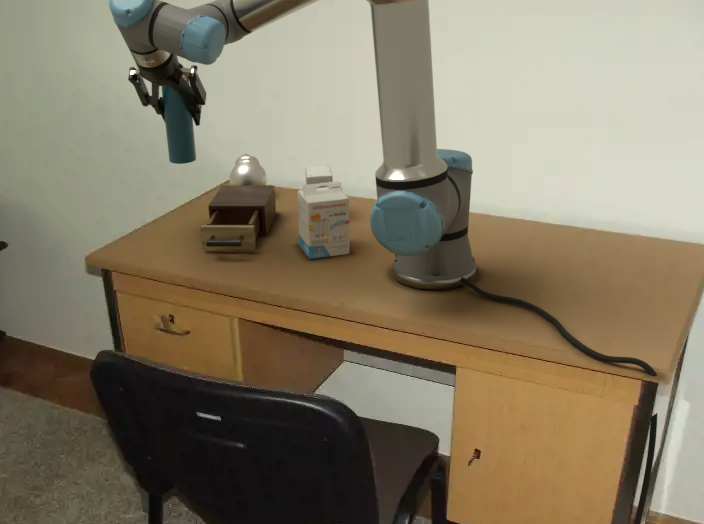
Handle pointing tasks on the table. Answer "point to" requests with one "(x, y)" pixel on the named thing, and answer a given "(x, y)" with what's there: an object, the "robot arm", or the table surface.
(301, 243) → the ink box
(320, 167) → the small box
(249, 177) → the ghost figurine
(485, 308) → the table surface
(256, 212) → the drawer
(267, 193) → the cabinet
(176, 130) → the dark teal cylinder
